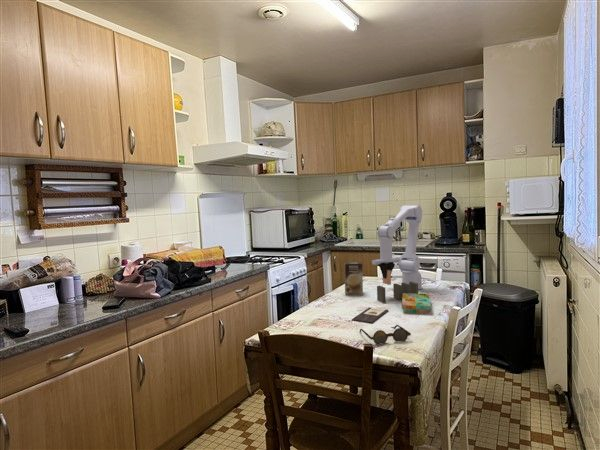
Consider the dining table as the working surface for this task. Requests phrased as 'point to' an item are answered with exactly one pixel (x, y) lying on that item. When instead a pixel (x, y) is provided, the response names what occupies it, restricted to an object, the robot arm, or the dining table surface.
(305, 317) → the dining table surface
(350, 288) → the coffee box
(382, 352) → the dining table surface
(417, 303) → the puzzle game
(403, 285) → the domino
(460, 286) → the dining table surface
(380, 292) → the domino
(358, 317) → the chocolate bar
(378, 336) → the eyeglasses
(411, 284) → the domino
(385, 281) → the domino
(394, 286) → the domino
